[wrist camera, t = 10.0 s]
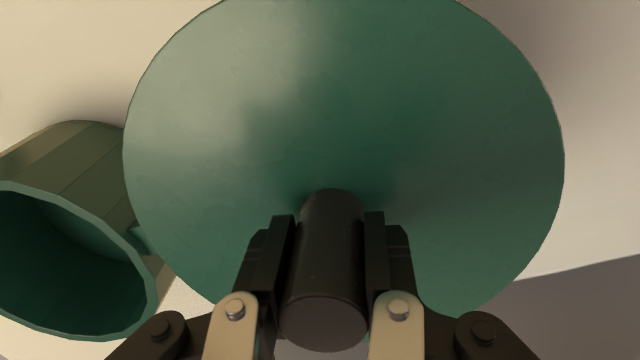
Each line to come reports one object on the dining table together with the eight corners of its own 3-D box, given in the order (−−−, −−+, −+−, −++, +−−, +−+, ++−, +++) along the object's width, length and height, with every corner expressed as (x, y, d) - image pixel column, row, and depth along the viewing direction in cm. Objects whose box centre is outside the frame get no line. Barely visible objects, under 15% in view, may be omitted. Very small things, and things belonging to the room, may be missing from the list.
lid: (46, 81, 13) (-145, 163, 8) (530, -143, 9) (754, -258, 4) (250, 344, 21) (216, 469, 16) (561, 292, 17) (650, 441, 12)
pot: (-38, 162, 31) (-154, 225, 24) (159, 80, 26) (83, 132, 19) (84, 282, 39) (22, 357, 32) (257, 239, 33) (229, 319, 26)
